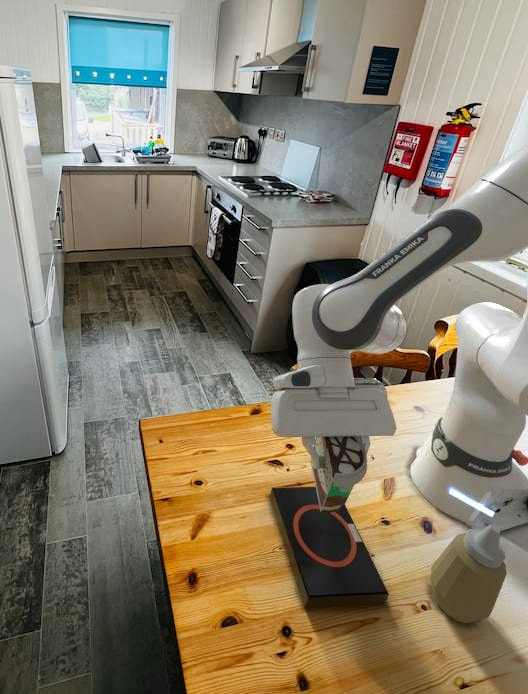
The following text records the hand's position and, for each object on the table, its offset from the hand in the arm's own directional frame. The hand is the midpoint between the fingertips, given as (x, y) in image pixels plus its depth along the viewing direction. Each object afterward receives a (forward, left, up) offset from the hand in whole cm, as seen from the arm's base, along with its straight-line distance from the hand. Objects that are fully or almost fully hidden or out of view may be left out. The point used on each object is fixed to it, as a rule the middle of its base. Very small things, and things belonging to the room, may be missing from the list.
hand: (339, 468), depth 63 cm
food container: (-1, -1, -6) cm, 6 cm away
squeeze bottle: (-19, +10, -19) cm, 28 cm away
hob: (-1, +1, -18) cm, 18 cm away
